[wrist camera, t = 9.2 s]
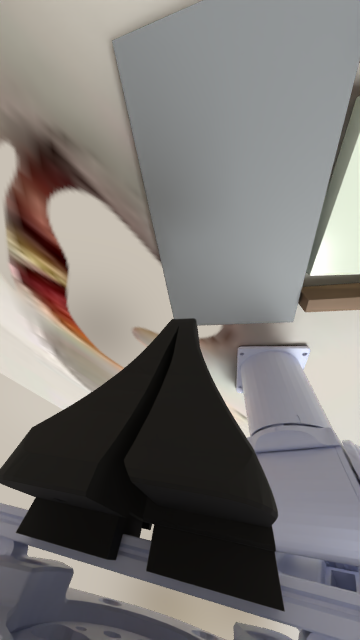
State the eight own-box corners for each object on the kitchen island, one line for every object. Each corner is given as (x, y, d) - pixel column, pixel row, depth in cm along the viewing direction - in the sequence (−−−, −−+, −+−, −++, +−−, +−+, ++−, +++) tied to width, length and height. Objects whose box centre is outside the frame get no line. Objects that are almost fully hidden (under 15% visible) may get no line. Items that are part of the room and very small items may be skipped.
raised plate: (288, 313, 18) (293, 322, 17) (177, 318, 21) (175, 326, 20) (368, -43, 8) (396, -86, 7) (123, 58, 10) (112, 40, 9)
